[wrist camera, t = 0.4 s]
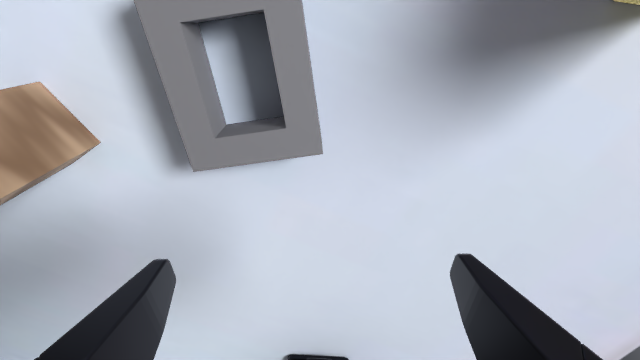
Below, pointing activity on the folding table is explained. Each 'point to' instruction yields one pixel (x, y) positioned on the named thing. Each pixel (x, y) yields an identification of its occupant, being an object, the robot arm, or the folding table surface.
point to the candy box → (629, 1)
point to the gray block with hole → (201, 94)
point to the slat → (36, 138)
